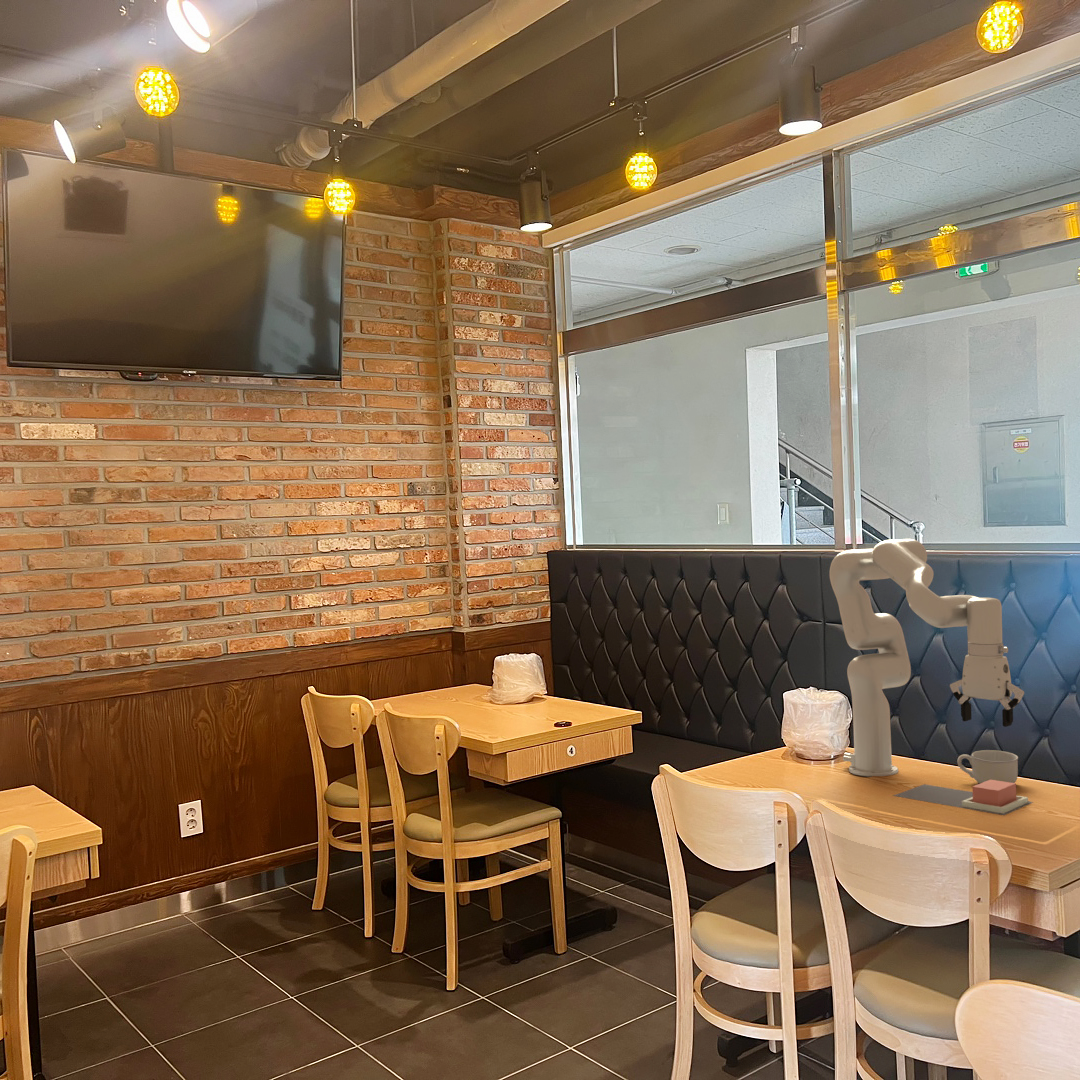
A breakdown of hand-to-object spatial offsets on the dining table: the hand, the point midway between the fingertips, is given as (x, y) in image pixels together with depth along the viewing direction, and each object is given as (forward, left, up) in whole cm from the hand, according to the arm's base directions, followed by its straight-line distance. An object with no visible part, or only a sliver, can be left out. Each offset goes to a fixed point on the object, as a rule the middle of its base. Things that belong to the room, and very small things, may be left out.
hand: (986, 723), depth 241 cm
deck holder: (+2, -2, -18) cm, 19 cm away
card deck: (+2, -2, -18) cm, 19 cm away
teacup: (-8, +16, -19) cm, 26 cm away
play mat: (-6, -2, -19) cm, 20 cm away
